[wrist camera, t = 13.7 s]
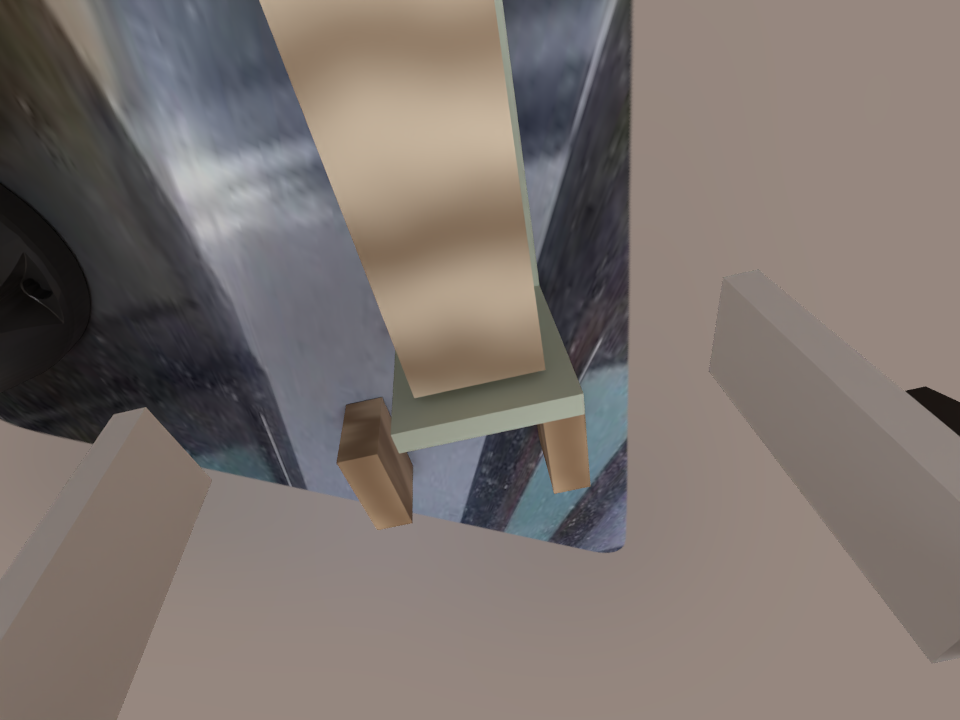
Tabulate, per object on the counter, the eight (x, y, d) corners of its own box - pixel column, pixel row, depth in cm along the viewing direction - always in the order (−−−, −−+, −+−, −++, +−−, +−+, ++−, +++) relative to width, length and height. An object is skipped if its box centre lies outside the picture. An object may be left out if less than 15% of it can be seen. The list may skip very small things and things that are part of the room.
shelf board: (263, -41, 16) (241, -45, 14) (471, -95, 15) (479, -106, 13) (414, 368, 27) (414, 398, 25) (536, 341, 27) (545, 370, 25)
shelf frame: (538, 296, 34) (585, 414, 25) (403, 326, 35) (399, 453, 25) (478, -155, 20) (533, -273, 11) (251, -96, 20) (113, -161, 11)
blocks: (381, 472, 44) (377, 530, 40) (346, 404, 39) (336, 462, 34) (571, 432, 44) (590, 486, 39) (563, 357, 38) (584, 410, 33)
